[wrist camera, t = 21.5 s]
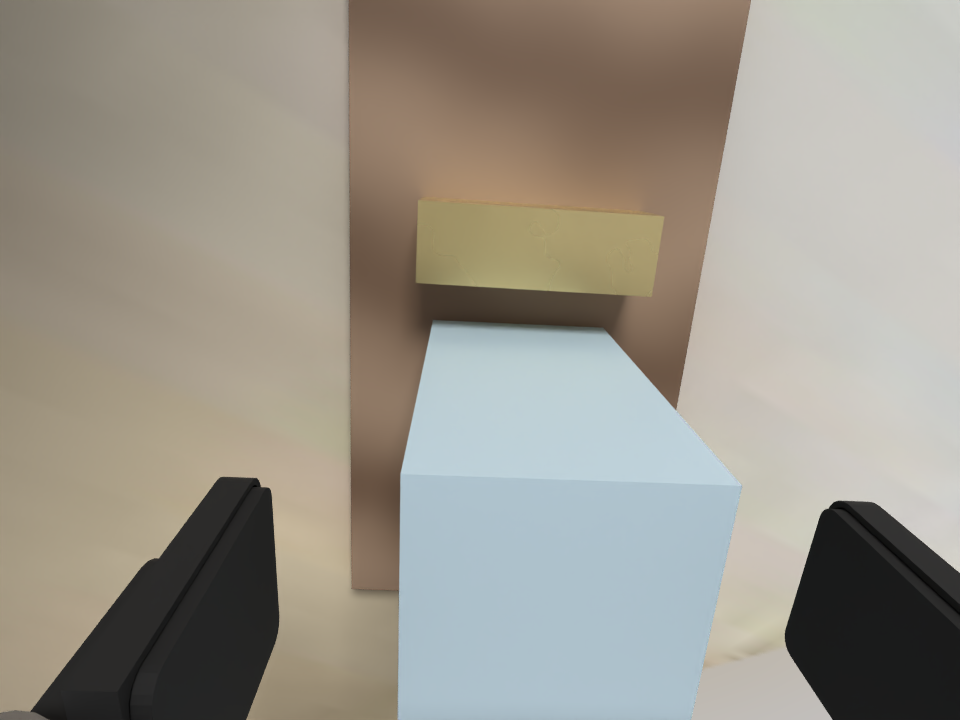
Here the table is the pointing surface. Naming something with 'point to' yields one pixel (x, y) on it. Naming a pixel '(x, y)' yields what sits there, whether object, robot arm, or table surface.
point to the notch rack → (522, 194)
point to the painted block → (553, 533)
